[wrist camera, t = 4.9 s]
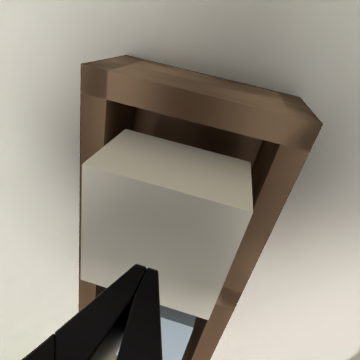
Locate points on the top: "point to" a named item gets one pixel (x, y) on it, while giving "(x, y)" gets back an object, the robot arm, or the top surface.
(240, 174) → the cream block
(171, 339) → the slate key
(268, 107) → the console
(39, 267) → the top surface
